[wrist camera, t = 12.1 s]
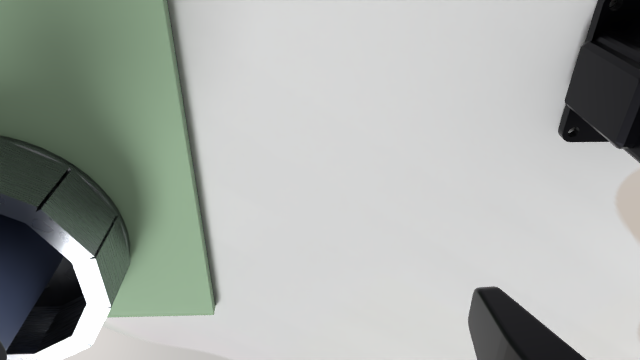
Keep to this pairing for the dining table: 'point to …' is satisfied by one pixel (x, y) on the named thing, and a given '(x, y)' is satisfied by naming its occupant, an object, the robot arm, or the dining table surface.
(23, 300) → the golf ball sleeve
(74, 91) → the putting mat
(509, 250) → the dining table surface
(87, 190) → the cup
